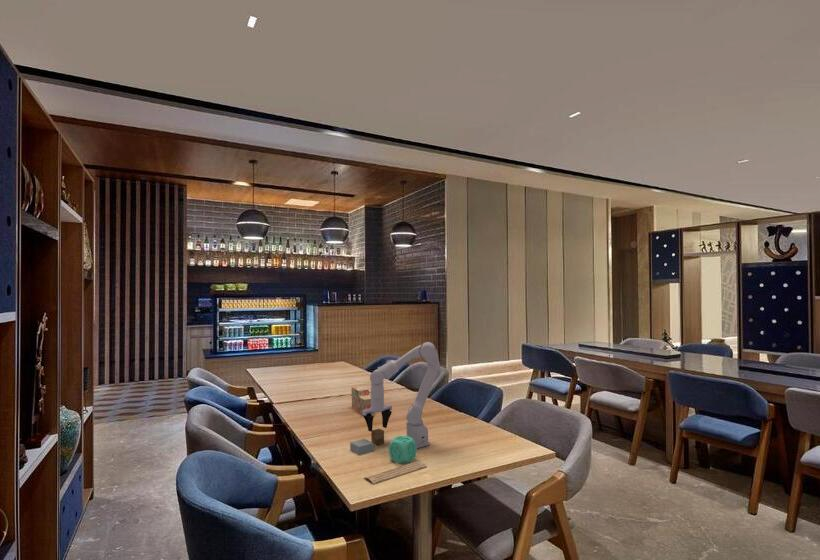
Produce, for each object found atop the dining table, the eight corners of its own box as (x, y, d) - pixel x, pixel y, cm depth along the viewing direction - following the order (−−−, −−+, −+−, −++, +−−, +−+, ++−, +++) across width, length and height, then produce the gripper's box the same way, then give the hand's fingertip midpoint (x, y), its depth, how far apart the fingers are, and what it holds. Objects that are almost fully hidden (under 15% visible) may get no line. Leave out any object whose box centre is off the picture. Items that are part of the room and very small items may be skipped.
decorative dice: (401, 454, 172) (401, 434, 172) (417, 459, 167) (417, 438, 167) (388, 460, 166) (388, 439, 166) (404, 465, 161) (403, 444, 161)
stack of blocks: (374, 415, 230) (374, 392, 230) (363, 417, 227) (363, 393, 227) (361, 406, 249) (361, 385, 249) (351, 407, 246) (351, 386, 247)
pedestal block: (373, 451, 176) (373, 442, 177) (359, 455, 172) (359, 446, 172) (364, 447, 182) (364, 438, 182) (350, 450, 178) (350, 442, 178)
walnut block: (384, 443, 185) (384, 430, 186) (376, 445, 183) (376, 432, 183) (379, 441, 188) (378, 428, 189) (371, 443, 186) (371, 430, 186)
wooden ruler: (373, 486, 144) (373, 481, 145) (362, 479, 150) (362, 474, 150) (426, 469, 159) (426, 464, 159) (415, 463, 164) (415, 458, 164)
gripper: (385, 393, 194) (385, 423, 193) (358, 398, 185) (358, 430, 184) (394, 396, 188) (395, 427, 188) (367, 401, 179) (367, 434, 179)
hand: (377, 429), depth 186 cm, fingers open, 7 cm apart
